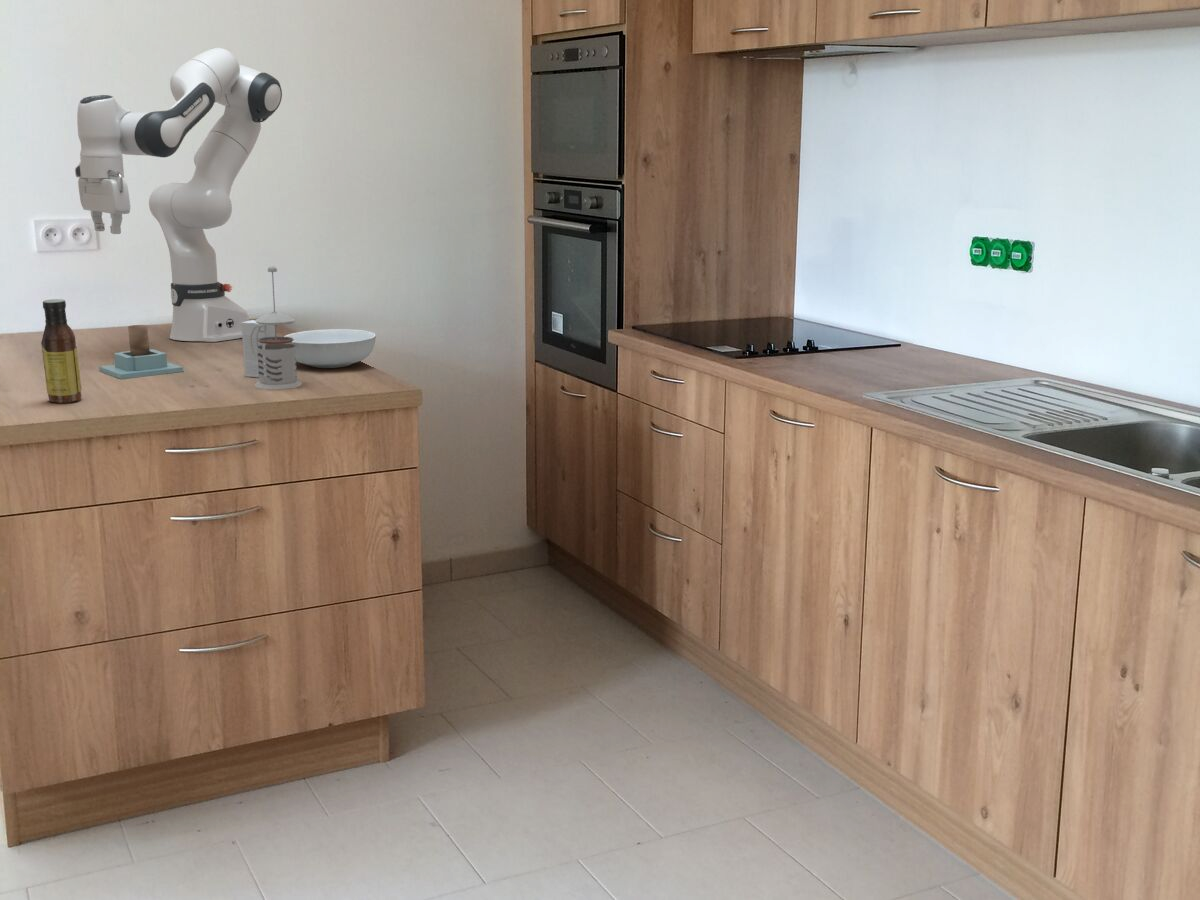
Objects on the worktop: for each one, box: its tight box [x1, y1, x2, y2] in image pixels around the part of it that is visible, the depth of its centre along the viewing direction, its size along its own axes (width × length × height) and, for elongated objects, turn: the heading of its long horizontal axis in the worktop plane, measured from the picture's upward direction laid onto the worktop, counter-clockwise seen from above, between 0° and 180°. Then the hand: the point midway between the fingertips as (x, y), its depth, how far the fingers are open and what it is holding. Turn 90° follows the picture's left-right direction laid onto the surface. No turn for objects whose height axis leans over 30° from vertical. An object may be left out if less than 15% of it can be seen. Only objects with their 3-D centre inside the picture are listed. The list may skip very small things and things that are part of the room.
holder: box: [98, 348, 184, 380], centre depth 271 cm, size 14×12×4 cm
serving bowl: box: [283, 328, 377, 369], centre depth 282 cm, size 21×21×7 cm
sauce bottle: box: [40, 298, 82, 404], centre depth 238 cm, size 7×6×20 cm
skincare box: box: [241, 319, 275, 378], centre depth 267 cm, size 6×4×12 cm
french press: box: [250, 265, 303, 390], centre depth 257 cm, size 10×12×25 cm
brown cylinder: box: [127, 324, 150, 357], centre depth 270 cm, size 4×4×9 cm
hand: (107, 232), depth 278 cm, fingers open, 8 cm apart
